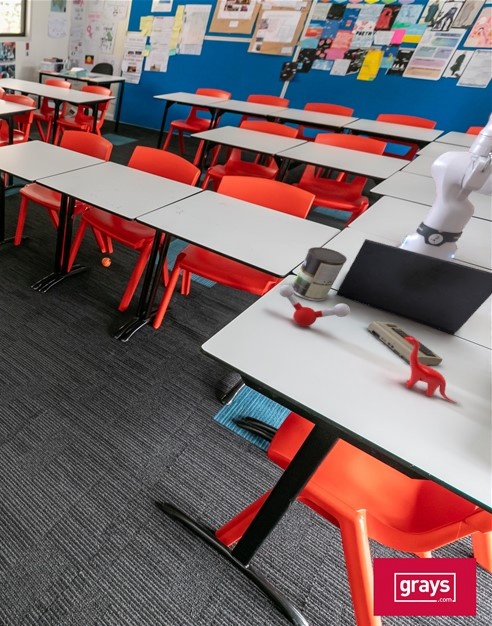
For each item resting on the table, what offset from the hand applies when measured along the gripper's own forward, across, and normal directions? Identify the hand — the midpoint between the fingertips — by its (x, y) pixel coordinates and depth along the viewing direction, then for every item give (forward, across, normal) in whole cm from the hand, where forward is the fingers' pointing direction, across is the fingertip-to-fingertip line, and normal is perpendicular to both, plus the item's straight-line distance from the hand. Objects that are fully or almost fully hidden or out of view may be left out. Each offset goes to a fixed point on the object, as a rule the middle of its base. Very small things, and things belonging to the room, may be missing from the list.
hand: (460, 199), depth 119 cm
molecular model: (+33, -41, +18) cm, 56 cm away
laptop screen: (+21, -17, 0) cm, 27 cm away
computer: (+33, -32, -5) cm, 46 cm away
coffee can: (+33, -19, +22) cm, 44 cm away
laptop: (+33, -3, 0) cm, 33 cm away
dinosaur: (+33, -50, -10) cm, 61 cm away
